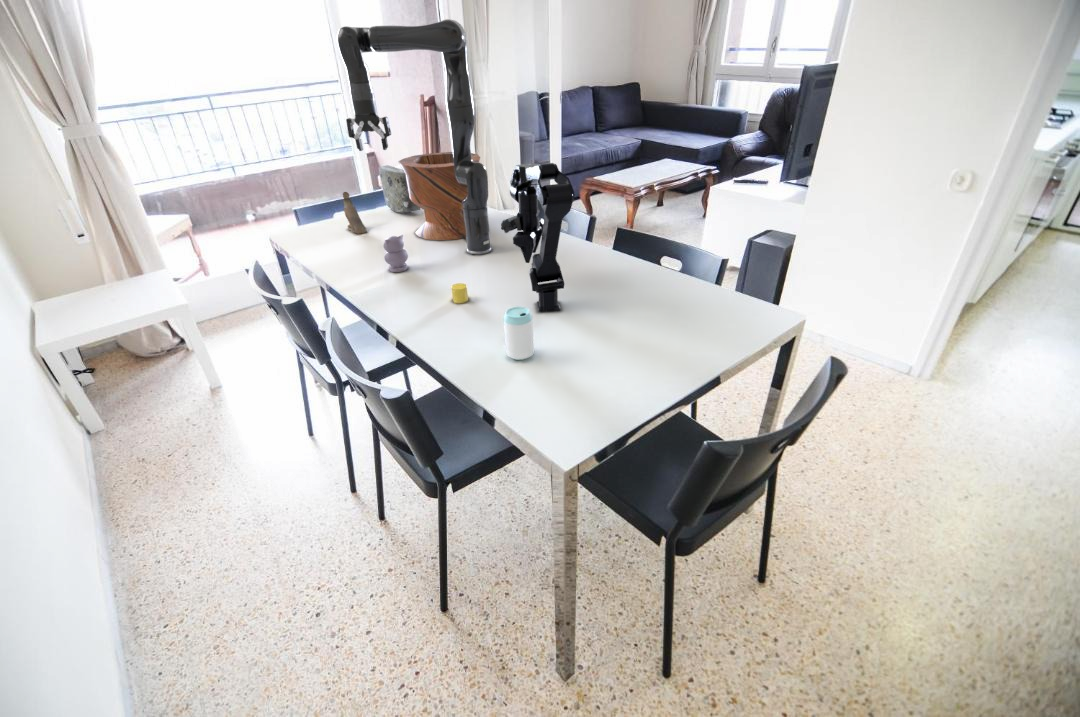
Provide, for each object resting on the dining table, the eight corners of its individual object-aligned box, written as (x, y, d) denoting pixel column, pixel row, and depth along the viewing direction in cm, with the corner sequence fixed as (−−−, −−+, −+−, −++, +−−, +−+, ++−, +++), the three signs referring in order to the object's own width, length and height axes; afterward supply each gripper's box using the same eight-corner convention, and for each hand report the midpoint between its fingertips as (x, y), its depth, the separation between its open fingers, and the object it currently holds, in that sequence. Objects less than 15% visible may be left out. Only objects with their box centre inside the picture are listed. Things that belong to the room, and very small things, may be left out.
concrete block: (383, 207, 257) (375, 166, 246) (398, 204, 261) (391, 164, 251) (406, 217, 239) (398, 174, 228) (422, 214, 243) (415, 171, 233)
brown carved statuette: (348, 234, 227) (335, 193, 221) (360, 231, 230) (348, 191, 223) (356, 234, 218) (343, 192, 211) (368, 231, 221) (355, 189, 214)
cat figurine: (401, 263, 186) (395, 231, 179) (414, 267, 181) (409, 235, 175) (382, 270, 180) (375, 237, 174) (395, 274, 176) (388, 241, 169)
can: (533, 346, 129) (531, 304, 123) (534, 360, 123) (532, 317, 117) (506, 347, 129) (503, 306, 123) (506, 362, 123) (502, 318, 117)
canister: (461, 295, 159) (459, 282, 156) (471, 299, 156) (469, 285, 154) (449, 300, 156) (447, 286, 153) (460, 304, 153) (458, 290, 151)
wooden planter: (394, 239, 210) (380, 166, 195) (433, 216, 239) (423, 151, 223) (469, 244, 201) (460, 168, 186) (499, 220, 230) (494, 152, 214)
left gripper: (387, 96, 169) (396, 147, 177) (346, 98, 169) (356, 149, 178) (380, 98, 163) (390, 151, 171) (337, 100, 163) (349, 152, 172)
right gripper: (510, 199, 159) (513, 247, 167) (494, 216, 143) (498, 267, 151) (544, 200, 157) (545, 248, 165) (531, 217, 141) (534, 268, 149)
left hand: (373, 150), depth 174 cm, fingers open, 8 cm apart
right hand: (530, 257), depth 158 cm, fingers open, 9 cm apart
